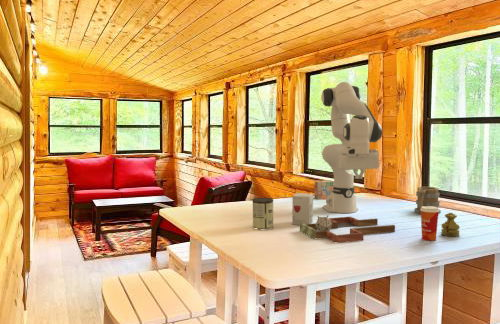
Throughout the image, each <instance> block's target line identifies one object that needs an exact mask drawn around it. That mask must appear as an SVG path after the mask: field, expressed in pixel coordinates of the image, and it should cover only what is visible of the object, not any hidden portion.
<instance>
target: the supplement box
mask: <svg viewBox="0 0 500 324" xmlns="http://www.w3.org/2000/svg"><path fill="white" fill-rule="evenodd" d="M313 204H314V194H313V193H306V192H305V193H301V192H296V193H294V194H293V195H292V208H291V209H292V210H291V211H292V213H291V214H292V219H291V221H292V223H291V224H292V225H295V226H300V223H304V224H313V222H314V221H313V220H314V219H313V218H314V217H313V216H314V205H313Z"/></svg>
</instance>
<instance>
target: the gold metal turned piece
mask: <svg viewBox="0 0 500 324" xmlns="http://www.w3.org/2000/svg"><path fill="white" fill-rule="evenodd" d="M444 217H445V218H446V219H447V220H446V221H445V222H443V223H442V224H441V230H440V231H441V235H442V236H445V237H449V238H450V237H451V238H454V237H455V238H456V236H457V237H459V236H460V228H461V227H460V225H459V224H458V223H457V222H456V221H455V219H456V218H458V216H457V215H456V214H454V213H453V212H447V213H446V214H444Z"/></svg>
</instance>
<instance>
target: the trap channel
mask: <svg viewBox="0 0 500 324" xmlns="http://www.w3.org/2000/svg"><path fill="white" fill-rule="evenodd" d="M328 218H329V219H330V221H331V222H332V223H334V224H332V227H331V229H330V231H319V230H318V229H317V227H316V226H314V225H316V222H315V223H311V224H304V223H300V225H299V232H301V233H302V232H303V233H302V234H304V233H305V234H304V235H306V234H307V235H308V237H309V236H310V237H309V238H311V237H312V238H313V240H316V239H315V238H321V239H328V240H329V239H330V241H331V240H332V242H333V241H334V242H333V243H335V242H339V243H347V242H346V241H349V242H357V241H359V240H360V241H364V235H372V234H373V235H374V234H383V233H384V234H385V233H392V232H393V233H395V231H396V225H395V224H387V225H379V224H378V218H366V219H365V218H364V219H357V218H355V217H353V216H339V217H328ZM350 227H353V228H350ZM338 228H349V233H344V234H336V233H334V232H332V231H331V230H333V229H338ZM307 235H306V236H307ZM312 238H311V239H312Z"/></svg>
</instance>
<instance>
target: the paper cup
mask: <svg viewBox="0 0 500 324" xmlns="http://www.w3.org/2000/svg"><path fill="white" fill-rule="evenodd" d="M438 209H439V207H438V208H437V207H433V206H425V207H424V206H422V207H421V209H420V210H421V213H420V223H421V239H422V240H424V241H429V242H435V241H436V240H437V232H438V223H439V221H438V220H439V214H438V212H439V210H440V209H439V210H438Z"/></svg>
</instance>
